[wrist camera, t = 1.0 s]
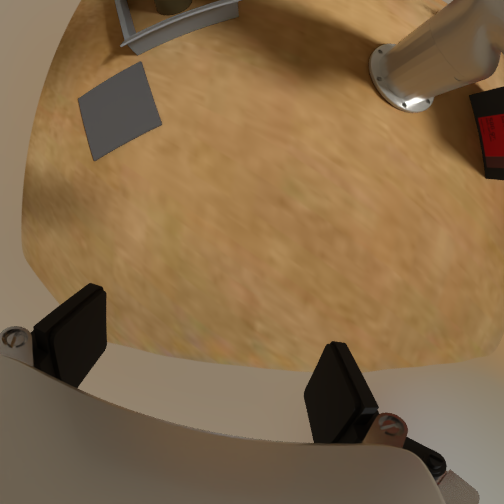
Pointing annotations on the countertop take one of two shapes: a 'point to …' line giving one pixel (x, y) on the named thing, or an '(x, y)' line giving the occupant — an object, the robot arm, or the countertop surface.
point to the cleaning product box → (491, 129)
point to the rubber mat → (118, 111)
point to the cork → (171, 6)
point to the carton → (173, 24)
